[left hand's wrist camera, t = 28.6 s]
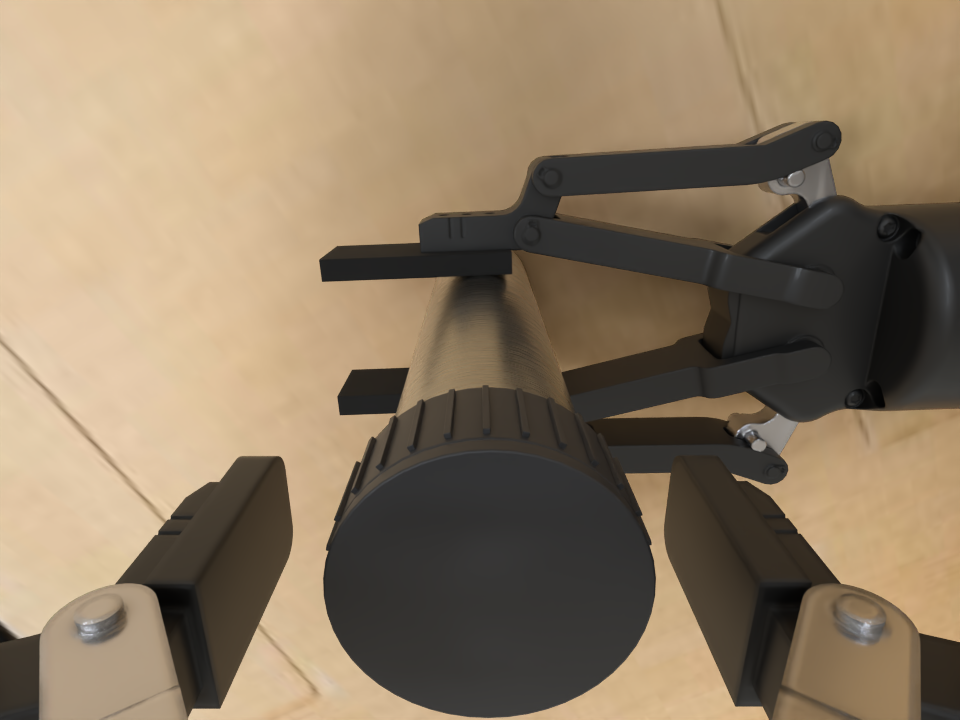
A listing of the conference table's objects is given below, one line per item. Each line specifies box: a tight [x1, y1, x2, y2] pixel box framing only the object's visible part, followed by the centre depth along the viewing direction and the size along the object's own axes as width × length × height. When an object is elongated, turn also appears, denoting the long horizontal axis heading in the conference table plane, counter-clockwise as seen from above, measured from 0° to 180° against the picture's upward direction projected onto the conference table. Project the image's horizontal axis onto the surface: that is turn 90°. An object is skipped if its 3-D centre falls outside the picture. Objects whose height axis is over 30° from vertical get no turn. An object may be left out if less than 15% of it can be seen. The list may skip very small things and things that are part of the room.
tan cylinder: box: [395, 250, 576, 417], centre depth 19 cm, size 4×4×20 cm
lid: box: [323, 385, 656, 718], centre depth 10 cm, size 5×5×2 cm
